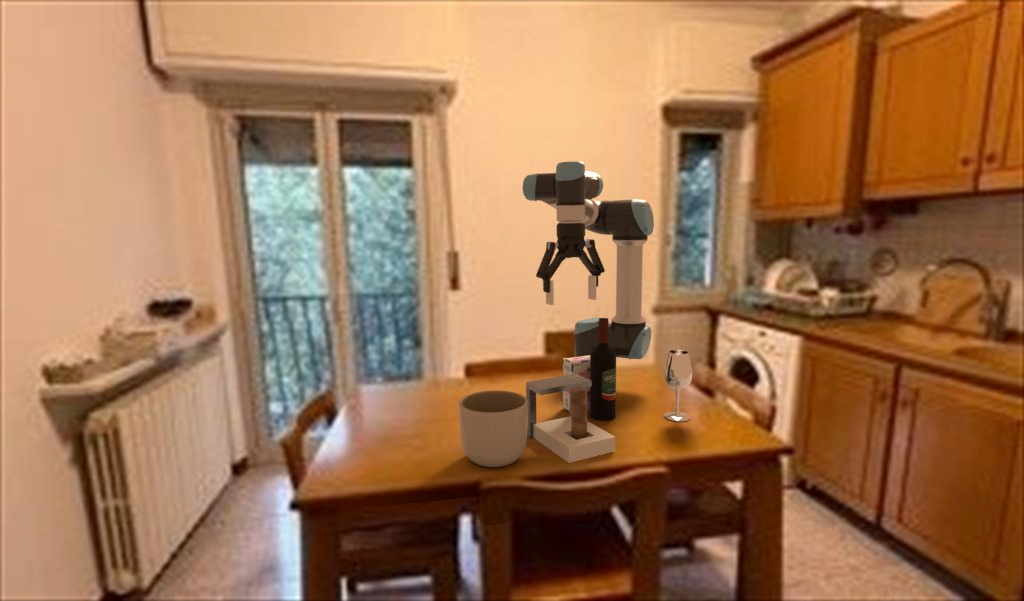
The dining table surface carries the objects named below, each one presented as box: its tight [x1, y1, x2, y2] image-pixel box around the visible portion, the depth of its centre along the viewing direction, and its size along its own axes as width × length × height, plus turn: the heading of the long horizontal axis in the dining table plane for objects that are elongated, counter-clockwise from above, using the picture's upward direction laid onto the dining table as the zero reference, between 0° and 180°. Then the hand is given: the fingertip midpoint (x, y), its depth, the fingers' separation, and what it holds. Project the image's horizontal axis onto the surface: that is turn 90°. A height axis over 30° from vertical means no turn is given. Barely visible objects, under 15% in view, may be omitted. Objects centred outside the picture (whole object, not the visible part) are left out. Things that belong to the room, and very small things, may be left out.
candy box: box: [562, 355, 590, 413], centre depth 176 cm, size 14×6×16 cm, turn 114°
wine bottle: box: [589, 317, 617, 422], centre depth 167 cm, size 8×8×30 cm
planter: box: [458, 390, 528, 468], centre depth 140 cm, size 17×17×15 cm
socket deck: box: [532, 415, 616, 464], centre depth 149 cm, size 14×18×4 cm
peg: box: [571, 387, 588, 440], centre depth 146 cm, size 4×4×16 cm
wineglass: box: [663, 349, 693, 422], centre depth 167 cm, size 8×8×20 cm
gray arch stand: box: [525, 374, 592, 440], centre depth 155 cm, size 16×8×16 cm, turn 117°
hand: (571, 301), depth 152 cm, fingers open, 13 cm apart
